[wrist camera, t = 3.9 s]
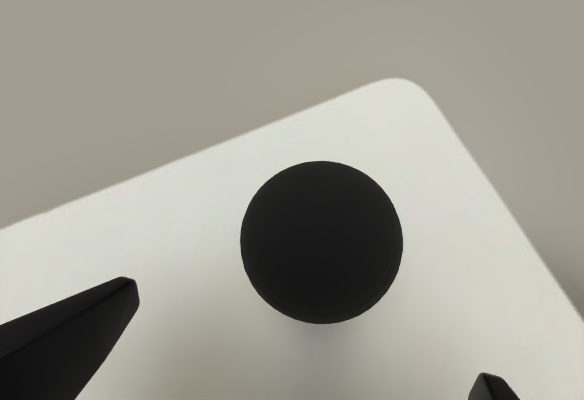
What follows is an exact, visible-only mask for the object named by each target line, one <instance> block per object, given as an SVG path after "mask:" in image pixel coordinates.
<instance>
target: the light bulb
mask: <svg viewBox="0 0 584 400" xmlns="http://www.w3.org/2000/svg"><path fill="white" fill-rule="evenodd" d="M240 245H241V256H242V260H243V264H244V268H245V271H246V273H247V275H248V277H249V279H250V282H251V284H252V285H253V287H254V288H255V290H256V291H257V292H258V294H259V295H260V296H261V297H262V298H263V299H264V300H265V301H266V302H267V303H268V304H269V305H271V306H272V307H273V308H274V309H276V310H278V311H279V312H281V313H283V314H284V315H286V316H289V317H291V318H293V319H296V320H299V321H303V322H306V323H313V324H332V323H339V322H343V321H346V320H350V319H352V318H354V317H356V316H359V315H361V314H362V313H364V312H365V311H367V310H369V309H370V308H371V307H372V306H374V305H375V304H376V303H377V302H378V301H379V300H380V299H381V298H382V297H383V295H384V294H385V293H386V292H387V291H388V289H389V287H390V286H391V284H392V283H393V281H394V279H395V277H396V275H397V273H398V270H399V266H400V263H401V257H402V252H403V236H402V228H401V225H400V221H399V218H398V215H397V213H396V210H395V208H394V206H393V204H392V202H391V200H390V198H389V197H388V196H387V194H386V193H385V192H384V190H383V189H382V188H381V187H380V186H379V185H378V184H377V183H376V182H375V181H374V180H373V179H371V178H370V177H369V176H368V175H366V174H364V173H363V172H361V171H359V170H357V169H355V168H353V167H350V166H348V165H344V164H341V163H336V162H330V161H313V162H305V163H301V164H298V165H294V166H292V167H289V168H287V169H285V170H283V171H281V172H279V173H278V174H276V175H274V176H273V177H272V178H271V179H269V180H268V181H267V182H266V183H265V184H264V185H263V186H262V187H261V188H260V189H259V190H258V191H257V193H256V194H255V195H254V197H253V198H252V200H251V202H250V203H249V206H248V208H247V211H246V213H245V216H244V219H243V221H242V227H241V236H240Z"/></svg>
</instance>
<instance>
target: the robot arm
mask: <svg viewBox="0 0 584 400" xmlns="http://www.w3.org/2000/svg"><path fill="white" fill-rule="evenodd" d="M139 302H140V301H139V295H138V289H137V284H136V281H135V280H133V279H130V278H127V277H118V278H115V279H113V280H110V281H108V282H105V283H103V284H100V285H98V286H95V287H93V288H91V289H88V290H86V291H83V292H81V293H78V294H76V295H73V296H71V297H68V298H66V299H63V300H61V301H59V302H56V303H54V304H51V305H49V306H46V307H44V308H41V309H39V310H36V311H34V312H31V313H29V314H26V315H24V316H22V317H19V318H17V319H14V320H12V321H9V322H7V323H4V324H2V325H0V400H75V399H76V397H77V396H78V395H79V393H80V392H81V391H82V389H83V388H84V387H85V386H86V384H87V383H88V382H89V380H90V379H91V378H92V376H93V375H94V374H95V373H96V371H97V370H98V369H99V367H100V366H101V365H102V363H103V362H104V361H105V359H106V358H107V356H108V355H109V353H110V352H111V350H112V349H113V347H114V346H115V344H116V342H117V341H118V339H119V338H120V336H121V335H122V333H123V331H124V330H125V328H126V327H127V325H128V324H129V322H130V320H131V319H132V317H133V316H134V314H135V313H136V311H137V309H138V307H139ZM468 400H520V399H519V398H518V396H517V395H516V394H515V393H514V391H513V390H512V389H511V388H510V387H509V385H508V384H507V383H506V382H505V380H503V379H502V378H501V377H499V376H496V375H492V374H488V373H480V374H479V376H478V377H477V379H476V381H475V383H474V385H473V387H472V389H471V391H470V393H469V397H468Z"/></svg>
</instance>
